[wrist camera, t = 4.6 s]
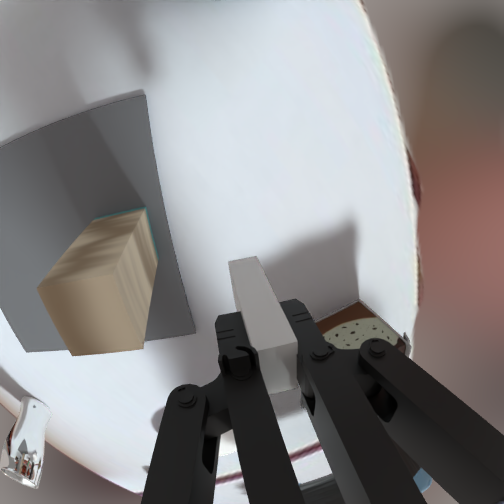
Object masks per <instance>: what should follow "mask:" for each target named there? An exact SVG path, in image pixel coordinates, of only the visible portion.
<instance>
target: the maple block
mask: <svg viewBox="0 0 504 504" xmlns="http://www.w3.org/2000/svg"><path fill="white" fill-rule="evenodd" d="M158 260H159V257H158V253H157V249H156V245H155V242H154V238H153V234H152V230H151V225H150V221H149V217H148V213H147V208H146V207H141V208H137V209H132V210H128V211H123V212H119V213H115V214H110V215H106V216H102V217H98V218H95V219H94V220H93V221H92V222H91V223H90V224H89V225H88V226H87V227H86V228H85V230H84V231H83V232H82V233H81V234H80V235H79V236H78V237H77V239H76V240H75V241H74V242H73V243H72V244H71V246H70V247H69V248H68V249H67V250H66V251H65V253H64V254H63V255H62V256H61V257H60V259H59V260H58V261H57V262H56V264H55V265H54V266H53V267H52V269H51V270H50V271H49V272H48V274H47V275H46V276H45V278H44V279H43V280H42V282H41V283H40V284H39V286H38V287H37V288H36V289H37V291H38V293H39V295H40V297H41V299H42V302H43V304H44V306H45V308H46V310H47V312H48V314H49V316H50V318H51V319H52V321H53V323H54V325H55V327H56V329H57V331H58V332H59V334H60V336H61V338H62V339H63V341H64V343H65V345H66V346H67V348H68V350H69V351H70V353H71V355H72V356H82V355H93V354H104V353H113V352H122V351H131V350H139V349H143V347H144V340H145V333H146V326H147V320H148V313H149V307H150V302H151V296H152V290H153V285H154V280H155V275H156V269H157V265H158Z"/></svg>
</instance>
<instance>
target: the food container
mask: <svg viewBox="0 0 504 504" xmlns="http://www.w3.org/2000/svg"><path fill="white" fill-rule="evenodd" d="M314 322H315V323H316V325H317V327H318V329H319V330H320V332H321V334H322V335H323V337H324V339H325V340H326V341H327V342H329V343H332V344H333V345H334V346H335V347H336V348H339V349H360V346H361V344H362V343H363V342H364V341H365V340H368V339H370V338H381V339H384V340H386V341H388V342H390V343H391V344H392V345H393V346H395V347H396V348H397V349H398V350H400V351H401V352H402V353H403V354H405V355H406V356H407V357H408V358H409V355H410V352H411V345H410V340H409V338H408V337H407V335H406V333H405V332H404V336H403V337H402V336H401V335H399V334H398V333H397V332H396V331H395V330H394V329H393V328H392V327H391V326H390V325H388V324H387V323H386V322H385V321H384V320H383V319H382V318H381V317H379V316H378V315H377V314H376V313H375V312H374V311H373V310H372V309H370V308H369V307H368V306H367V305H366V304H365V303H364V302H363V301H361V300H360V299H358V300H356V301H354V302H352V303H350V304H348V305H347V306H345V307H343V308H341V309H339V310H337V311H335V312H333V313H330V314H328V315H326V316H324V317H322V318H320V319H318V320H316V321H314Z"/></svg>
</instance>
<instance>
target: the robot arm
mask: <svg viewBox="0 0 504 504" xmlns="http://www.w3.org/2000/svg"><path fill="white" fill-rule="evenodd" d="M228 264H229V270H230V276H231V282H232V288H233V294H234V300H235V305H236V309H237V312H234V313H229V314H224V315H219V316H218V318H217V320H216V322H215V328H216V335H217V340H218V347H219V353H220V354H219V357H218V363H219V366H220V370H221V372H220V374H219V376H218V377H217V378H216V379H215V380H214V381H213V382H211V383H209V384H207V385H205V386H203V387H199V386H197V385H192V384H186V385H181V386H179V387H176V388H175V389H174V390H173V391H172V392H171V393H170V395H169V397H168V399H167V403H166V407H165V410H164V414H163V417H162V421H161V425H160V429H159V432H158V436H157V440H156V444H155V448H154V451H153V455H152V459H151V463H150V467H149V471H148V475H147V480H146V484H145V488H144V492H143V497H142V501H141V504H213V499H214V490H215V481H216V473H217V464H218V456H219V447H220V439H221V434H223V433H225V432H228V431H230V430H232V429H233V434H234V438H235V443H236V448H237V452H238V457H239V461H240V466H241V470H242V474H243V479H244V483H245V487H246V491H247V495H248V499H249V503H250V504H427V503H426V501H425V499H424V498H423V495H422V494H421V493H422V492H424V491H425V490H426V489H427V488H429V486H430V485H431V483H432V478H433V479H434V480H435V481H436V482H437V483H438V484H439V485H440V486H441V487H442V488H443V489H444V490H445V491H446V492H448V493H449V494H450V495H451V496H452V497H453V498H454V499H455V500H456V501H457V502H458V503H459V504H504V435H503V434H501V433H500V432H499V431H498V430H496V429H495V428H494V427H493V426H492V425H490V424H489V423H488V422H487V421H486V420H484V419H483V418H482V417H481V416H480V415H478V414H477V413H476V412H475V411H474V410H472V409H471V408H470V407H469V406H468V405H466V404H465V403H464V402H463V401H462V400H460V399H459V398H458V397H457V396H455V395H454V394H453V393H452V392H450V391H449V390H448V389H447V388H446V387H444V386H443V385H442V384H440V383H439V382H438V381H437V380H436V379H434V378H433V377H432V376H431V375H429V374H428V373H427V372H426V371H425V370H423V369H422V368H421V367H420V366H418V365H417V364H416V363H415V362H413V361H412V360H411V359H410V358H408V357H407V356H406V355H405V354H403V353H402V352H401V351H400V350H398V349H397V348H396V347H395V346H393V345H392V344H391V343H390V342H388V341H386V340H384V339H381V338H370V339H368V340H365V341H364V342H363V343H362V344H361V346H360V349H339V348H336V347H335V346H334V345H333V344H332V343H329V342H327V341H326V340H325V339H324V337H323V335H322V334H321V332H320V330H319V329H318V327H317V325H316V323H315V322H314V320H313V319H312V317H311V315H310V313H308V310H307V308H306V307H305V305H304V304H303V303H301V302H300V301H298V300H297V299H292V300H288V301H283V302H278V300H277V297H276V295H275V293H274V291H273V289H272V287H271V285H270V283H269V281H268V279H267V277H266V275H265V273H264V271H263V269H262V267H261V265H260V263H259V260H258V258H257V256H255V257H249V258H244V259H239V260H233V261H228ZM298 383H299V385H300V387H301V408H304V405H305V408H306V410H307V412H308V415H309V417H310V420H311V422H312V425H313V427H314V429H315V432H316V434H317V437H318V439H319V442H320V444H321V446H322V449H323V451H324V454H325V456H326V458H327V461H328V463H329V465H330V468H331V470H332V474H329V475H327V476H324V477H321V478H318V479H315V480H312V481H309V482H306V483H303V484H301V483H300V484H298V481H297V478H296V475H295V473H294V470H293V467H292V464H291V461H290V458H289V455H288V452H287V449H286V446H285V443H284V440H283V437H282V434H281V431H280V428H279V425H278V422H277V419H276V416H275V413H274V410H273V407H272V404H271V401H270V398H269V395H271V394H275V393H280V392H283V391H287V390H291V389H295V388H298Z"/></svg>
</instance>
